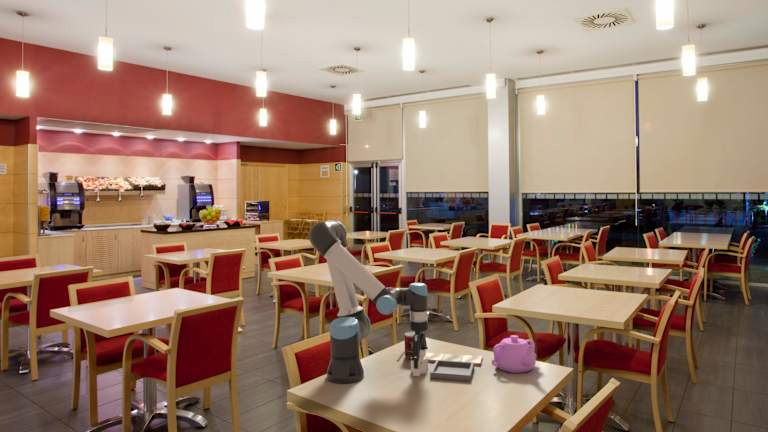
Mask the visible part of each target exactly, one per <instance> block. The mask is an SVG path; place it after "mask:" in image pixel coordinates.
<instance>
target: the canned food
mask: <svg viewBox="0 0 768 432" xmlns="http://www.w3.org/2000/svg"><path fill="white" fill-rule="evenodd" d="M414 335H415V331H408V332H405V333H404V352H405V353H404V358H405V359H406V360H408V361H411V358H412V349H413V336H414ZM420 350H421V349H420Z"/></svg>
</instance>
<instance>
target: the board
mask: <svg viewBox="0 0 768 432" xmlns="http://www.w3.org/2000/svg"><path fill="white" fill-rule="evenodd" d="M403 355H405V351H402V352H401V353H400V355H399V356H398V358H397V359H396V362H399V361H400V360H401V358H402V357H403ZM426 355H428V363H434V364H435V362H436V360H448V361H463V362H474V367H481V366H482V362H483V356H482V355H479V356H478V355H471V354H470V355H469V354H466V355H465V354H455V353H454V354H451V353H439V352H437V353H436V352H426Z"/></svg>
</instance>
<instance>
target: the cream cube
mask: <svg viewBox="0 0 768 432" xmlns="http://www.w3.org/2000/svg"><path fill="white" fill-rule="evenodd" d="M415 358H417V357H415ZM419 360H420V374H426V372H427V371H428V369H429V365H428V364H429V362H428V355H420V356H419ZM411 373H412V374H413V361H412V360H410V374H411Z"/></svg>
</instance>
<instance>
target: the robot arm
mask: <svg viewBox="0 0 768 432" xmlns="http://www.w3.org/2000/svg"><path fill="white" fill-rule="evenodd" d="M347 232H348V231H347V228H346V227H345V226H344V224H343V223H342V222H341V221H339V220H334V219H327V220H322V221H317V222H315V223H314V224H313V225H312V226H311V228H310V230H309V232H308V239H309V243H310V244H311V246H312V247H313V248H314V249H315V250H316V252H318V253H319V254H320V256H322V258H324V259H326V264H327V266H328V271H329V274H330V279H331V283H332V286H333V290H334V294H335V298H336V301H337V306H338V308H339V311H338V313H337V314H336V315H337V318H335V319H333V320H332V321H331V323H330V326H329V328H330V329H329V335H330V336H329V337H330V339H329V340H330V360H329V364H328V367H327V371H326V378H327V381H329V382H332V383H336V384H353V383H356V382H359V381H361V380H363V379H364V377H365V371H364V367H363V364H362V361H361V357H360V343H361V342H362V341H363V340H365V338H367V336H368V335H369V333H370V330H371V320H370V318H369V316H368V315H367V314H366V313H365V311H364V307H362V306H361V305H360V304H359V300H358V296H357V293H356V289H355V286H357V287H358V289H360V290H361V291H362V292H363V294H365V295H366V296H367V297H368V298H369V299H370V300H371V301H372V302H373V303H374V304H375V305H376V309H377V311H378V312H379V313H380V314H382V315H391V314H393V313H395V311H396V310H397V308H398V307H409V320H410V321H409V328H410V331H411V332H415V335H414V336H413V349H412V358H411V360H412V361H413V373H412V376H413V377H421V373H420V360H419V356H420V355H426V353H427V350H428V349H429V347H428V344H427V338H426V337H427V336H426V331H427V330H428V329H429V321H428V320H429V315H430V312H429V311H428V310H429V308H428V305H429V304H428V303H429V301H428V300H429V299H428V296H429V294H428V285H427V284H426V283H423V282H413V283H412V282H411V283H409V287H390V286H389V287H386V286H385V285H384V284H383V283H382V282H381V281H379V279H377V277H375V275H374V274H373V273H371V271H370V270H368V269H367V268H366V267H365V266H364V264H362V263H361V262H360V261H359V260H357V258H356V257H354V255H353V254H351V253H350V252H349V250H348V246H347V241H346V239H347V234H348V233H347ZM354 284H355V285H354ZM420 349H421V350H420ZM415 357H417V358H415ZM411 360H410V361H411Z"/></svg>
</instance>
